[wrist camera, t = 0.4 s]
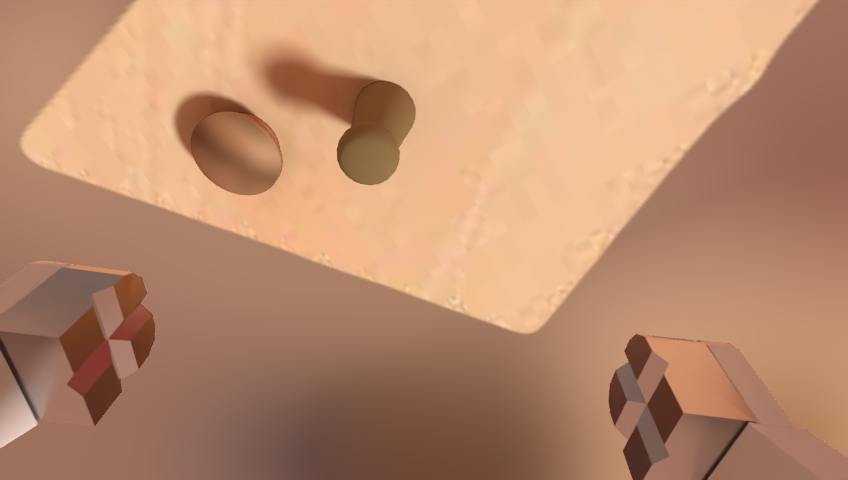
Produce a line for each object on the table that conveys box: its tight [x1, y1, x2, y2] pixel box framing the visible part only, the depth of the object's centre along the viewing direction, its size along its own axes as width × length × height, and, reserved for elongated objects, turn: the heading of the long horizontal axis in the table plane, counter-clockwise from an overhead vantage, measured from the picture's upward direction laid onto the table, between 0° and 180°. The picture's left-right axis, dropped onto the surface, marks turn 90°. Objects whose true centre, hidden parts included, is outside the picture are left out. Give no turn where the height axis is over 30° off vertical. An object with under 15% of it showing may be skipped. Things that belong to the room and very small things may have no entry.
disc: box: [191, 111, 283, 195], centre depth 49 cm, size 9×9×3 cm
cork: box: [337, 81, 416, 185], centre depth 42 cm, size 6×6×11 cm
